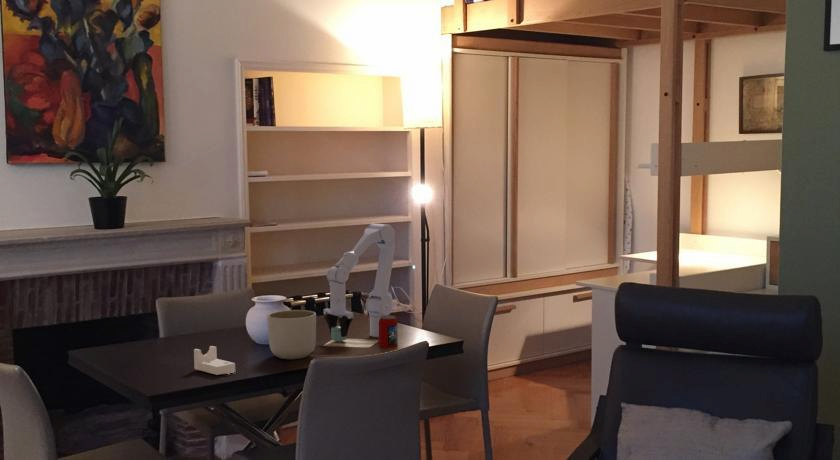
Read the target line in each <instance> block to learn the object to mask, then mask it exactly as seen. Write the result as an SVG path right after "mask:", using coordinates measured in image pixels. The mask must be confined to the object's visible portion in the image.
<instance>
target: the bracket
mask: <svg viewBox="0 0 840 460" xmlns="http://www.w3.org/2000/svg"><path fill="white" fill-rule="evenodd" d="M217 352H218V351H217V346H213V345H210V346H209V349H208V351H207V352H206V353H205V354H203V353H202V350H201V349H199V348H194V349H193V359H194V360H193V361H194V362H193V363H194V364H193V365H194V366H193V367H194V369H195V370H197V371H201V372H205V373H208V374H213V375H216V376H218V375H225V374H228V375H231V374H230V373H233V374H235V373H236V363H235V362H232V361H228V360H223V359H221V358H220V359H219V358H218V356H217V354H218V353H217ZM234 372H235V373H234Z"/></svg>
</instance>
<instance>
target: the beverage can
mask: <svg viewBox="0 0 840 460" xmlns="http://www.w3.org/2000/svg"><path fill="white" fill-rule="evenodd" d="M378 340H379V341H378V346H379V348H383V349H393V348H397V347H398V345H399V344H398V342H399V340H398V319H397V318H396V316H395V315H390V314H389V315H387V316H381V318H380V320H379V337H378Z"/></svg>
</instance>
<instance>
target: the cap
mask: <svg viewBox="0 0 840 460" xmlns="http://www.w3.org/2000/svg"><path fill="white" fill-rule="evenodd" d="M330 339H331V340H334V341H342V340H346V339H348V338H347V336H345V337H342V336H341V328H340V325H337V326H334V327H331V333H330ZM331 340H330V341H331Z"/></svg>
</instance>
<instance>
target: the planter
mask: <svg viewBox="0 0 840 460" xmlns="http://www.w3.org/2000/svg"><path fill="white" fill-rule="evenodd" d="M266 315H267V317H266V318H267V319H266V321H267V333H268V334H267V335H268V345H269V349H270V351H271V353H272V354H273V355H274V356H275V357H276V358H278V359H283V360H299V359H304V358H306V357H308V356H310V354H312V353H313V351H314V350H315V348H316V341H317V340H316V339H317V313H316V312H315V311H312V310H307V309H306V310H304V309H292V310H291V309H290V310H279V311H274V312H270V313H268V314H266Z"/></svg>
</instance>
